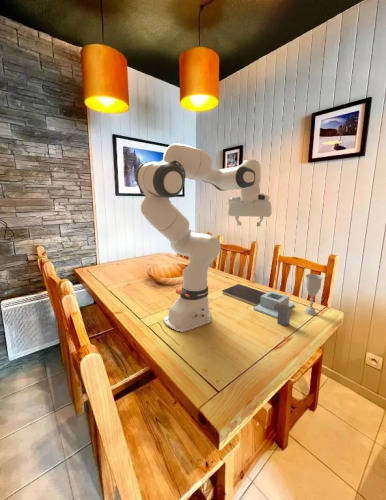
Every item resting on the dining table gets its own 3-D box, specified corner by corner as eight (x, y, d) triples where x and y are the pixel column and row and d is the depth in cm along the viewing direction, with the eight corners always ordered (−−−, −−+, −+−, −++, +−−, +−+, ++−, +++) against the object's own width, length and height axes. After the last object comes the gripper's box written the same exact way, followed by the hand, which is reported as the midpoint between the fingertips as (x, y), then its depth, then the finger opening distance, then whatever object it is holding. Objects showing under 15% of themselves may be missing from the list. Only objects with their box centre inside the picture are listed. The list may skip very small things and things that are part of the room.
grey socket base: (276, 318, 102) (277, 306, 101) (253, 309, 110) (254, 298, 109) (294, 305, 114) (295, 294, 113) (271, 298, 122) (272, 288, 121)
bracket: (286, 326, 95) (287, 309, 94) (272, 321, 100) (274, 304, 98) (289, 324, 97) (290, 307, 96) (276, 319, 102) (277, 302, 100)
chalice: (312, 317, 102) (316, 280, 98) (298, 311, 108) (302, 275, 104) (322, 314, 105) (326, 277, 101) (309, 308, 111) (312, 273, 107)
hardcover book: (256, 307, 114) (256, 303, 113) (221, 294, 130) (221, 290, 130) (272, 298, 124) (273, 294, 123) (238, 287, 141) (239, 283, 140)
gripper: (226, 197, 109) (226, 225, 112) (271, 196, 100) (269, 227, 103) (230, 197, 114) (229, 224, 117) (273, 196, 106) (271, 226, 109)
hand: (248, 225), depth 110 cm, fingers open, 8 cm apart
